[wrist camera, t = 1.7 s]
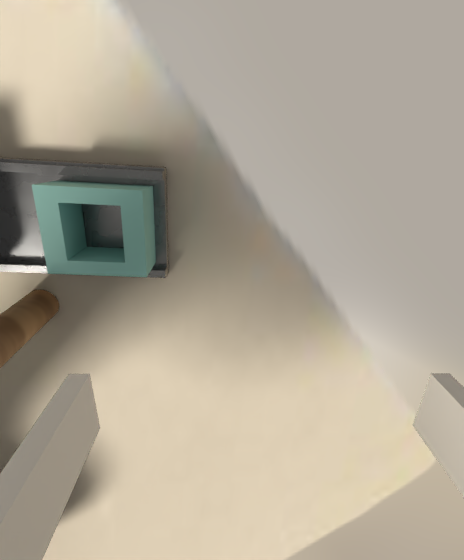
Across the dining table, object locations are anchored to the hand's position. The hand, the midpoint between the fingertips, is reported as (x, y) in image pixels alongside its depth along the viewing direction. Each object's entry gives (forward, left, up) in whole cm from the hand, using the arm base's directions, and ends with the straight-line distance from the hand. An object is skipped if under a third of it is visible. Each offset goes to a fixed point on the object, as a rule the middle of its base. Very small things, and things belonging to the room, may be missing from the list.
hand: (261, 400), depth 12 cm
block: (-12, +3, -19) cm, 22 cm away
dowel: (-20, -7, -20) cm, 29 cm away
